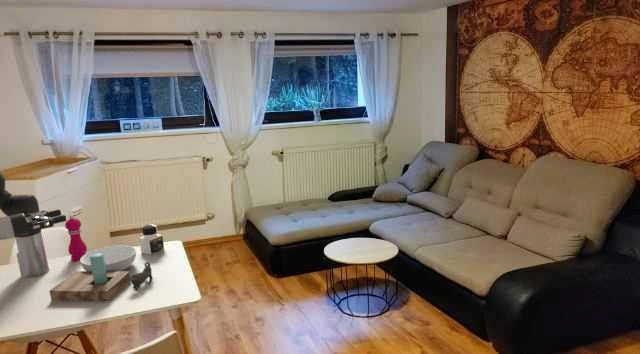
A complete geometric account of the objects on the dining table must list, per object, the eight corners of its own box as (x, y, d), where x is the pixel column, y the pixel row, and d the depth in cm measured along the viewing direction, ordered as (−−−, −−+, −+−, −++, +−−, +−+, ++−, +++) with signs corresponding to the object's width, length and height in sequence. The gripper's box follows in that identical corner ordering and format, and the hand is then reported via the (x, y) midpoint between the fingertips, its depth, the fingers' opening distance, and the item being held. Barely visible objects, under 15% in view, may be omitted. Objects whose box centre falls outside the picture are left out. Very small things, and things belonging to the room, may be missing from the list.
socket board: (51, 301, 170) (49, 290, 169) (78, 280, 185) (76, 271, 184) (109, 301, 167) (107, 291, 166) (131, 280, 183) (129, 271, 182)
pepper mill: (70, 263, 203) (61, 219, 198) (70, 257, 209) (62, 214, 204) (88, 259, 206) (81, 216, 201) (88, 254, 212) (80, 211, 207)
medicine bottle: (151, 255, 207) (147, 229, 204) (141, 252, 210) (137, 227, 207) (164, 249, 212) (161, 224, 210) (154, 247, 216) (150, 222, 213)
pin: (93, 293, 174) (86, 258, 171) (100, 287, 178) (94, 253, 175) (105, 293, 173) (98, 258, 170) (111, 287, 178) (105, 253, 174)
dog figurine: (144, 278, 185) (141, 260, 183) (157, 279, 183) (155, 261, 182) (124, 292, 174) (121, 273, 172) (138, 293, 172) (135, 274, 170)
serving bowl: (125, 280, 184) (123, 264, 182) (72, 282, 184) (69, 266, 183) (145, 258, 204) (143, 243, 202) (98, 260, 205) (95, 245, 203)
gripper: (10, 221, 153) (65, 209, 163) (5, 211, 164) (57, 200, 174) (15, 243, 155) (69, 229, 165) (10, 231, 166) (61, 219, 176)
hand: (63, 214), depth 169 cm, fingers open, 8 cm apart
